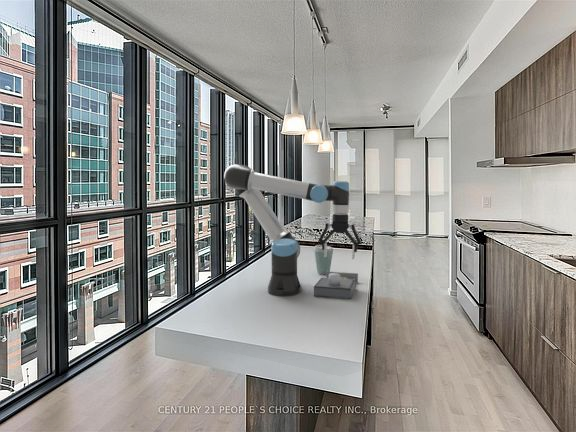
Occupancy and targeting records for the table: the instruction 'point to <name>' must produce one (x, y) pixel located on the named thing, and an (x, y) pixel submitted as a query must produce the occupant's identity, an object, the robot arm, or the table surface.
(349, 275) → the tray
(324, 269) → the disposable coffee cup
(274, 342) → the table surface
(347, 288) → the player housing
